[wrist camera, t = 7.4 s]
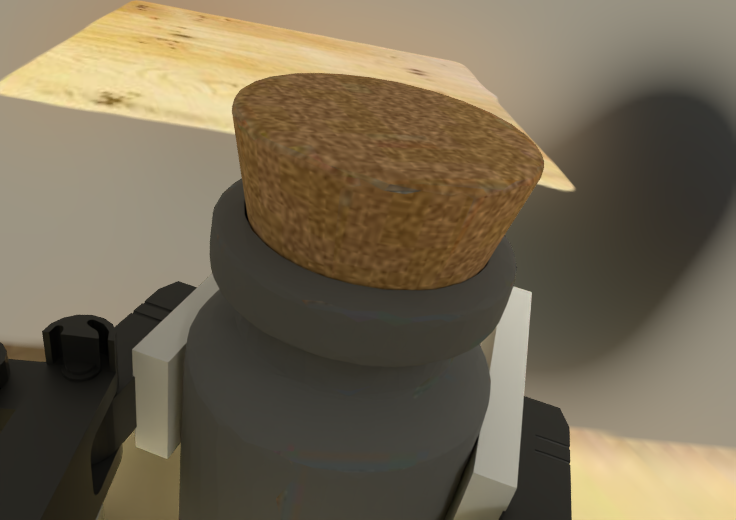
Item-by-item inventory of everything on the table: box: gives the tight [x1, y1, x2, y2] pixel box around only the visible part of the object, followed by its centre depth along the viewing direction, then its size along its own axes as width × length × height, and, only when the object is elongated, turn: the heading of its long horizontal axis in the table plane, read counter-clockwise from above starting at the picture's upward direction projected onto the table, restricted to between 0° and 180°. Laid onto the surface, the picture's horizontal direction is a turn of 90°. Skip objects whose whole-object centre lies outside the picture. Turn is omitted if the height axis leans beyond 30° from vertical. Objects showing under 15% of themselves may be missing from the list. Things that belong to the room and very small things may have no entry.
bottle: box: [179, 73, 544, 520], centre depth 13 cm, size 6×6×15 cm
